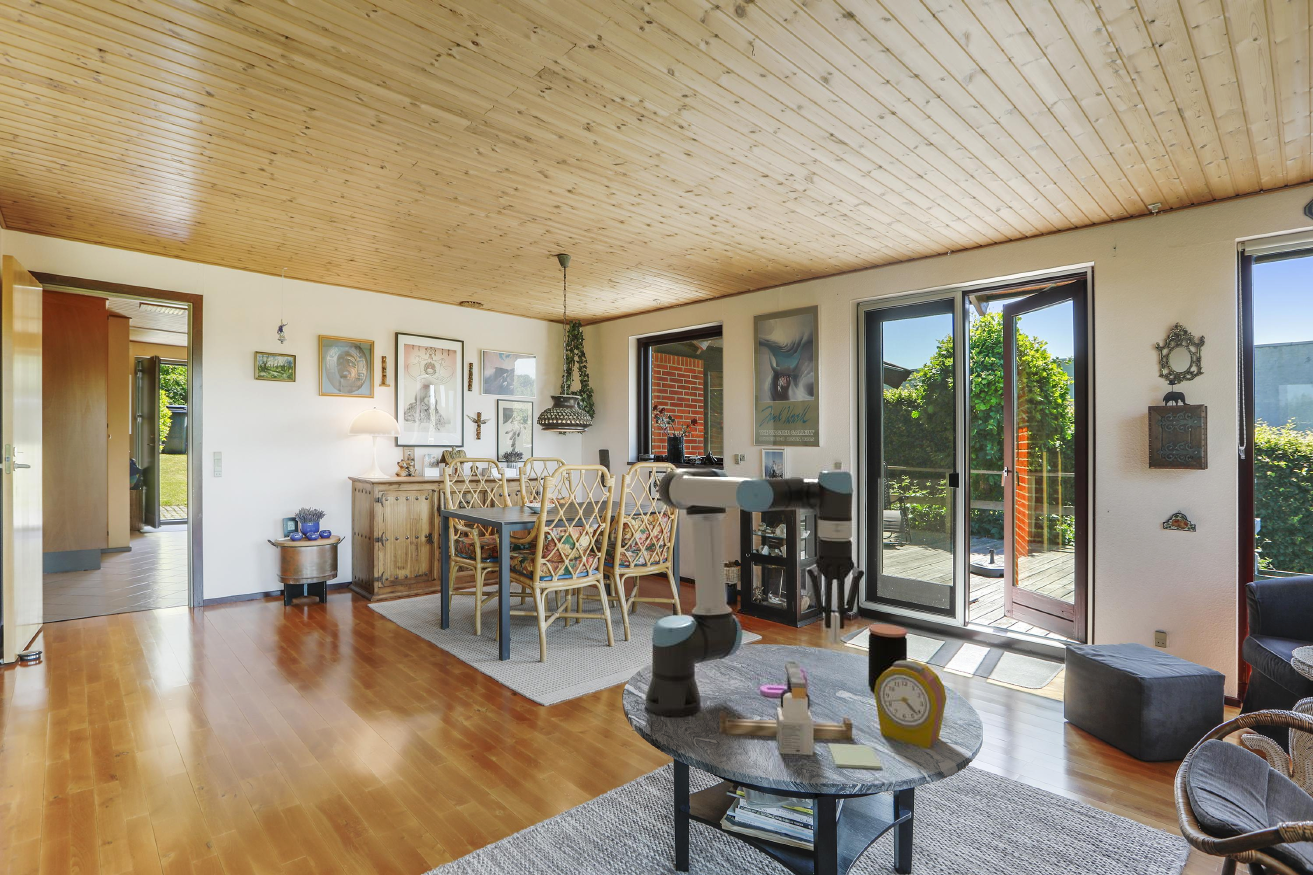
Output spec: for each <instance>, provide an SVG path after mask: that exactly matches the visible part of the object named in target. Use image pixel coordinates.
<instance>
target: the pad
mask: <svg viewBox="0 0 1313 875" xmlns="http://www.w3.org/2000/svg"><path fill="white" fill-rule="evenodd" d="M827 747H828V749H829V752H830V755H831V758H832V760H833V762H834V765H835V768H836V767H837V768H851V769H852V768H856V769H875V770H883V765H882V763H881V761H880V759H879V757H878V756H877V754H876V753H875V752H876V751H875V750H874V749H873V746H872V745H869V744H868V745H865V744H849V743H848V744H845V743H844V744H843V743H827Z"/></svg>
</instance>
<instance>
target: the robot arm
mask: <svg viewBox="0 0 1313 875" xmlns="http://www.w3.org/2000/svg"><path fill="white" fill-rule="evenodd" d="M657 488H658V489H657V492H658V497H659V498H660V501H661V502H662V503H663V504H664V505H665V506H667V507H668V508H670V509H673V510H679V511H680V510H685V512H686V514H685V515H686V517H687V518H688V519H689V520H690V521H691V529H692V545H693V546H692V547H693V548H692V549H693V550H692V551H693V561H694V562H693V565H694V581H695V582H694V584H695V585H694V586H695V600H696V601H695V603H696V605H695V606H694V607H693V609H692V610H691V616H690V615H688V614H687V615H685V614H678V615H676V614H675V615H673V614H672V615H669V616H664V617H663V618H660V619H658V620H657V621H656V622H655V623H654V625H653V627H652V628H653V630H652V635H651V642H652V652H651V653H652V654H651V655H652V657H651V658H652V659H651V660H652V666H651V667H652V672H651V673H652V674H651V679H650V682H649V685H648V688H647V691H646V695H645V699H644V701H645V703H644V704H645V708H646V710H648V711H649V712H651V713H653V714H655V715H658V716H663V717H686V716H690V715H694V714H696V713H697V712H699V711H700V709H701V706H702V702H701V701H702V700H701V699H702V697H701V694H700V691H699V688H698V685H697V681H696V678H695V673H696V670H695V669H696V668H695V666H696V664H700V663H706V662H710V661H715V660H722V659H725V658H727V657H728V658H729V657H731V656H733V655H734V654H736V653H737V651H738V650H739V649H740V647H741V644H742V642H743V641H742V640H743V630H742V625H741V623H740V620H739V619H738V618H737V617H736V615H734V614H733V609H732V608H731V607H730V605H728V604H727V594H726V592H727V591H726V573H725V560H724V558H725V557H724V542H723V527H722V520H723V518H725V516H726V515H727V509H738V510H744V511H745V512H749V513H750V512H751V513H761V512H769V511H771V512H772V511H790V510H806V511H807V510H808V511H817V519H818V520H817V536H818V537H819V538H818V540H817V559H816V560H815V564H813V565H811V566H809V567H808V566H807V567H806V568H805V572H806V574H807V575H808V577H809V580H810V584H811V589H812V593H813V599H814V602H815V607H816V609H817V610H818V611H819V612H820V613H824V623H823V624H824V628H826V629H828V641H829V643H830V645H836V646H838V645H839V646H840V645H841V644H840V642H841V640H840V634H841V633H840V632H841V631H840V630H844V628H845V616H846V615H847V614H849V613H851V614H852V612H854V608H855V604H856V599H857V595H858V591H859V586H860V582H861V580H862V579H863V577H864V575H865V571H864V570H862V568H858V567H857V566H855V562H854V560H853V541H852V540H851V538H853V513H852V512H853V492H854V489H853V477H852V474H851V473H850V472H849V471H845V470H820V471H819V472H818V476H817V478H810V477H808V478H807V477H800V476H791V477H784V478H783V477H781V478H770V477H769V478H764V477H763V478H762V477H761V478H759V477H758V478H757V477H754V478H753V477H752V478H750V477H728V475H727V474H726V472H724V471H723V470H721V469H718V468H717V469H716V468H678V469H673V470H670V471H668V472H666V473H665V474H664V475H663V476H662V477H661V479H660V480H659V483H658V487H657ZM818 571H819V572H820V573H821V575H822V576H823V577H824V602H823V601H822V594H821V591H820V587H819V581H818V578H817V575H818ZM850 573H851V576H852V578H851V580H850V584H849V585H850V586H849V589H848V594H847V597H846V598H847V599H846V598H845V596H846V595H845V594H846V593H845V592H846V591H845V588H846V587H845V585H846V580H845V579H846V578H848V576H849V575H850ZM834 580H836V594H837V595H836V599H837V601H836V602H837V603H836V604H837V605H836V607H837V608H836V609H837V612H832V610H833V609H832V606H833V584H834ZM845 599H846V601H845ZM823 603H824V604H823Z"/></svg>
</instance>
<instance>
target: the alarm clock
mask: <svg viewBox="0 0 1313 875" xmlns="http://www.w3.org/2000/svg"><path fill="white" fill-rule="evenodd" d="M873 693H874V694H873V695H874V697H875V698H874V699H875V704H876V705H875V706H876V710H877V716H878V722H879V729H880V735H881V736H886V737H888V738H891V739H895V740H898V741H899V740H900V741H902V742H905V743H908V744H912V745H914V746H915V745H916V746H918V745H919V747H923V748H925V747H926V749H928V748H929V749H930V748H931V747H932V746H933V745H934V744H935V743H936V742H937V741H936V740H939V738H940V733H941V728H942V723H943V717H944V713H945V708H946V703H947V702H946V701H947V696H946V694H947V693H946V689H945V685H944V684H943V682H942V680H941V678H940V677H939V676H938V674H937V673H936V672H935V671H934V670H932V669H931V668H930V667H929V666H927V665H926V664H923V663H921V662H919V661H916V660H907V661H906V660H901V661H896V662H895V663H894V664H893V666H892V667H891V668H889V669H888V670H886V671H885V672H883V673H882V675H881V676H880V677H879V678H878V680H877V681H876V686H875V690H874V692H873ZM935 741H936V742H935ZM934 742H935V743H934ZM933 743H934V744H933Z"/></svg>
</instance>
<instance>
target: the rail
mask: <svg viewBox="0 0 1313 875" xmlns="http://www.w3.org/2000/svg"><path fill="white" fill-rule="evenodd" d="M842 719H843V720H842V722H843V723H828V722H827V723H826V722H813V739H823V740H824V739H826V740H827V739H829V740H846V741H852V740H853V722H852V720H851V717H843V718H842ZM719 734H724V735H725V734H726V735H728V734H729V735H749V736H750V735H751V736H766V737H769V736H770V737H777V720H769V719H768V720H765V719H748V718H747V719H746V718H744V719H743V718H727V712H726V711H719Z"/></svg>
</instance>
